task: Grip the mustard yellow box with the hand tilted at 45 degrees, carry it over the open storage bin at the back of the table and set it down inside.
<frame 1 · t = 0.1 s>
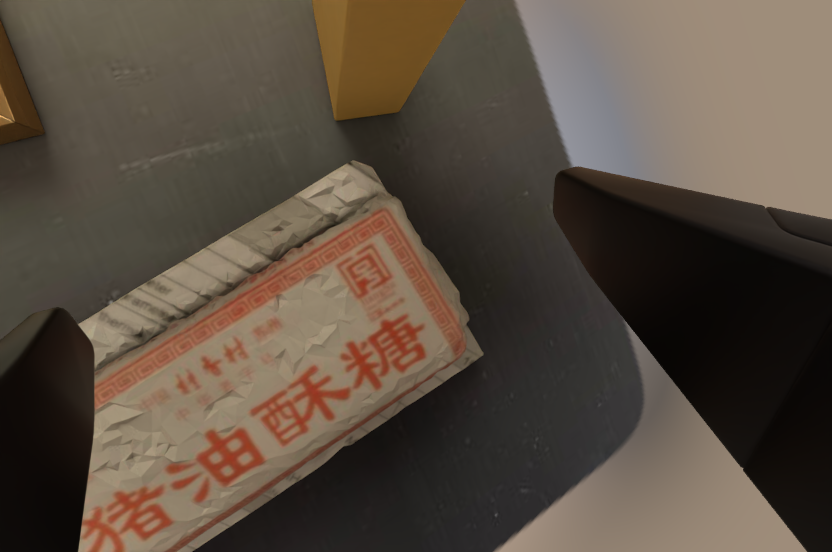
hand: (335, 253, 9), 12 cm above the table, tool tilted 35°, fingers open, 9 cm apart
mustard yellow box: (356, 58, 21), on the table
packaged product: (243, 368, 21), on the table
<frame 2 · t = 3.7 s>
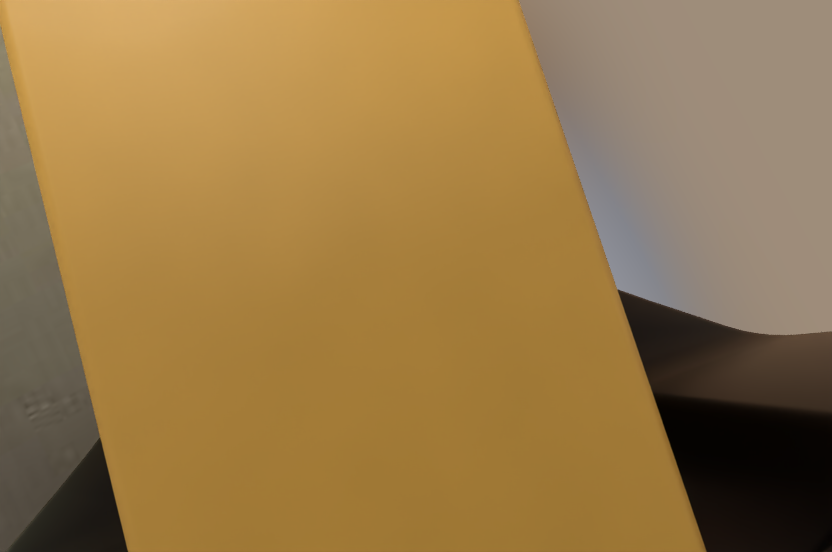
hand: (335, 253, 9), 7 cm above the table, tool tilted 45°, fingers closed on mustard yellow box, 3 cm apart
mustard yellow box: (354, 332, 15), on the table, touching gripper
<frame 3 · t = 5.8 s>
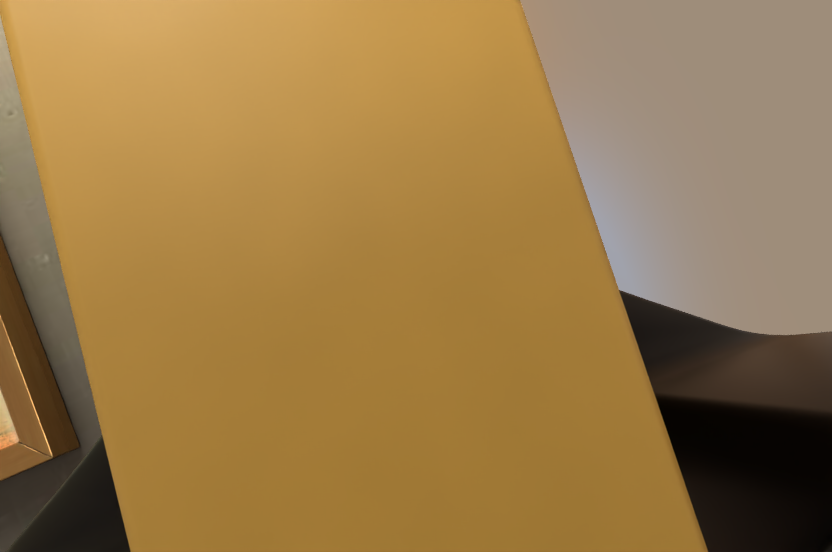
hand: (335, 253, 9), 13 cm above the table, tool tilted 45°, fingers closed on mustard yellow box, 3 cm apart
mustard yellow box: (354, 331, 15), point 7 cm above the table, touching gripper
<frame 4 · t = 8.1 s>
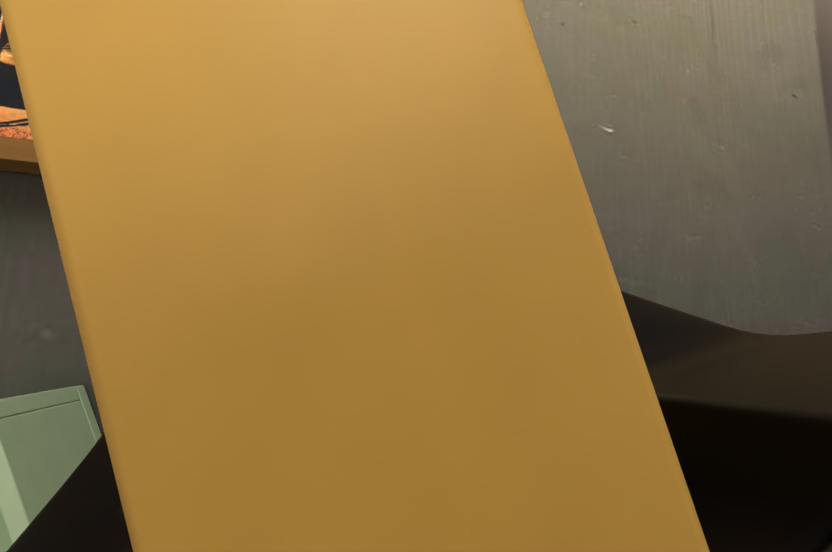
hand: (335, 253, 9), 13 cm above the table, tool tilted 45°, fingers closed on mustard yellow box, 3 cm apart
mustard yellow box: (353, 331, 15), point 7 cm above the table, touching gripper
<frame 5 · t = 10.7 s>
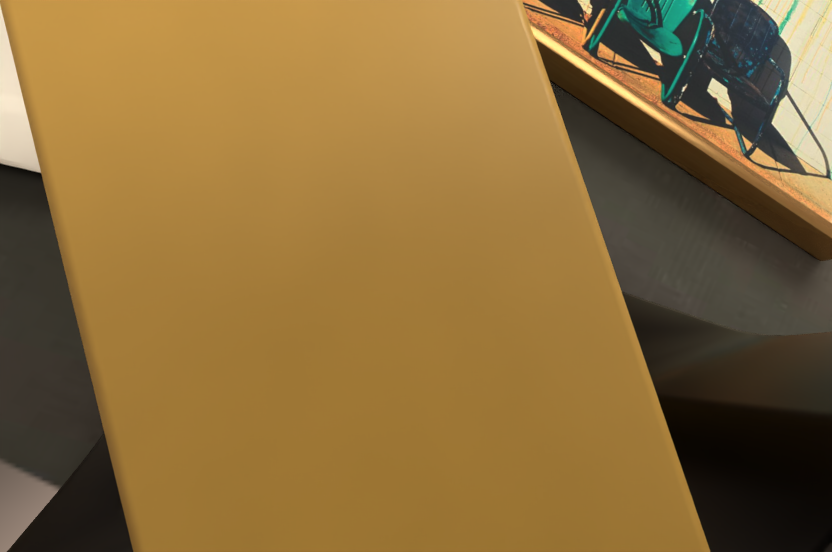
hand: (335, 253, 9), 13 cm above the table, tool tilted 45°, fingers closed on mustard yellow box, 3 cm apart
mustard yellow box: (352, 330, 15), point 7 cm above the table, touching gripper
when the fingers open (7 cm above the table, at t = 12.6 s): mustard yellow box stays where it is, resting on open storage bin.
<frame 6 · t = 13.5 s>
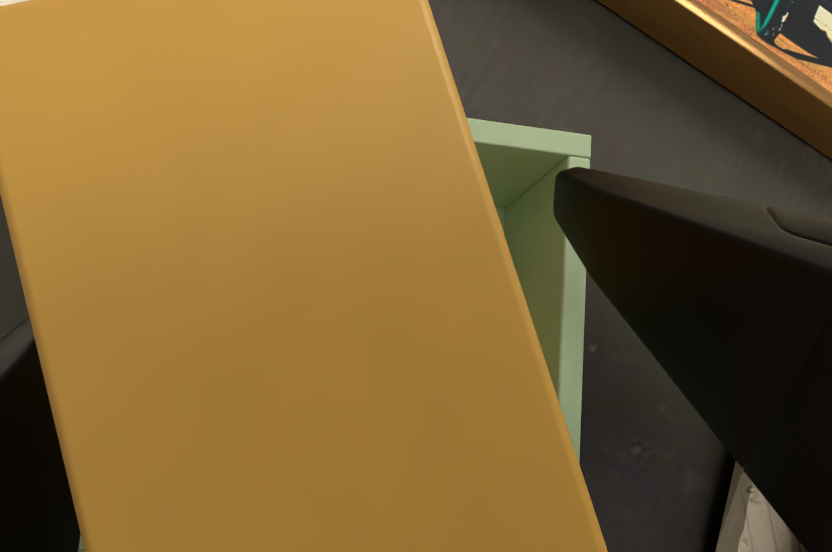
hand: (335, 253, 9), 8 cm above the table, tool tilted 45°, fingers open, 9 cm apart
mustard yellow box: (354, 334, 16), point 1 cm above the table, touching open storage bin
open storage bin: (354, 333, 16), on the table
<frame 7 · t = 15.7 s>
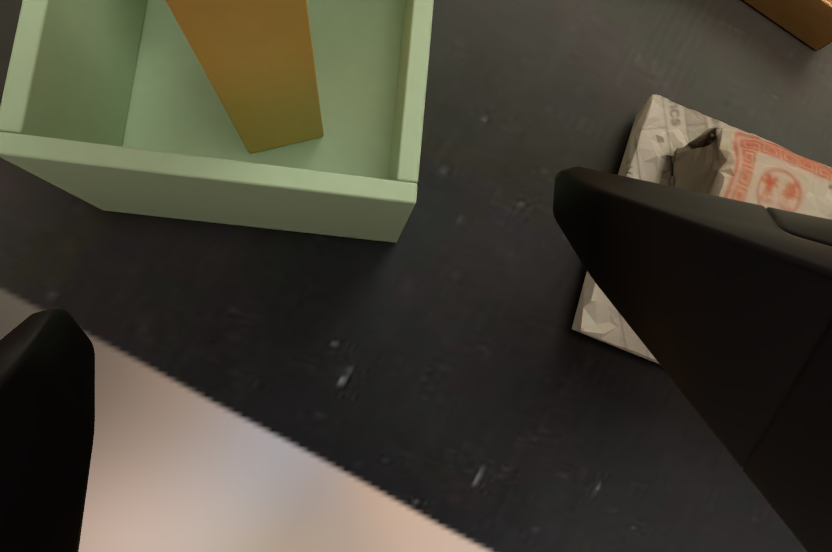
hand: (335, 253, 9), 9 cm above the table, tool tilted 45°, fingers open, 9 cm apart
mustard yellow box: (269, 85, 18), point 1 cm above the table, touching open storage bin
packaged product: (785, 292, 21), on the table
open storage bin: (272, 93, 19), on the table
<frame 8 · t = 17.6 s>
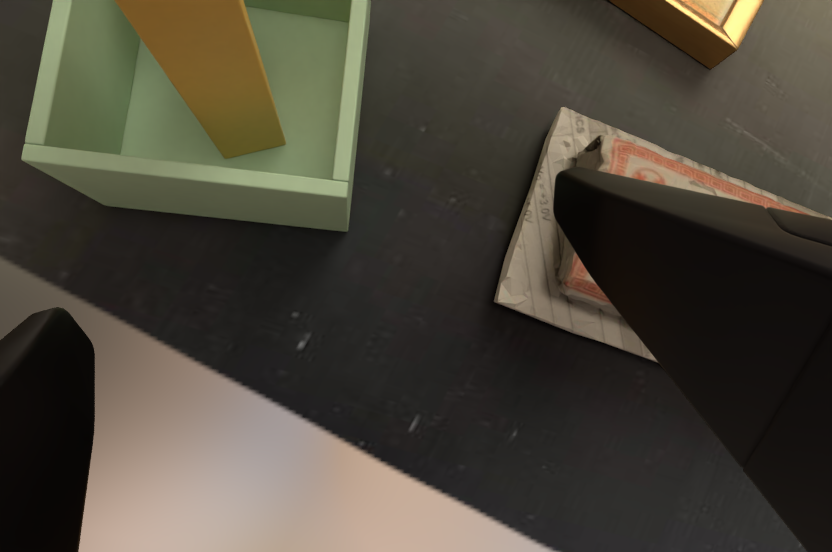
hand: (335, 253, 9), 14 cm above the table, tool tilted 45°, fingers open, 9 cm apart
mustard yellow box: (241, 103, 22), point 1 cm above the table, touching open storage bin
packaged product: (679, 272, 25), on the table
open storage bin: (244, 108, 23), on the table
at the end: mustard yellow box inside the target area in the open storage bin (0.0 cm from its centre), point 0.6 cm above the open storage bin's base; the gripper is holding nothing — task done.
